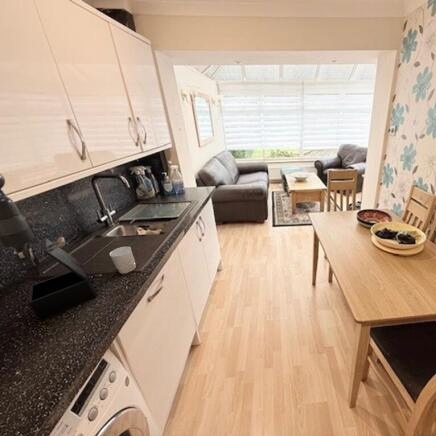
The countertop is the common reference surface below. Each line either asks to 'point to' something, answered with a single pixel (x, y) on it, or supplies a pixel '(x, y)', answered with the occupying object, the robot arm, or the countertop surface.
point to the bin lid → (63, 257)
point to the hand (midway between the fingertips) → (36, 271)
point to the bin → (59, 294)
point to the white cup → (123, 259)
